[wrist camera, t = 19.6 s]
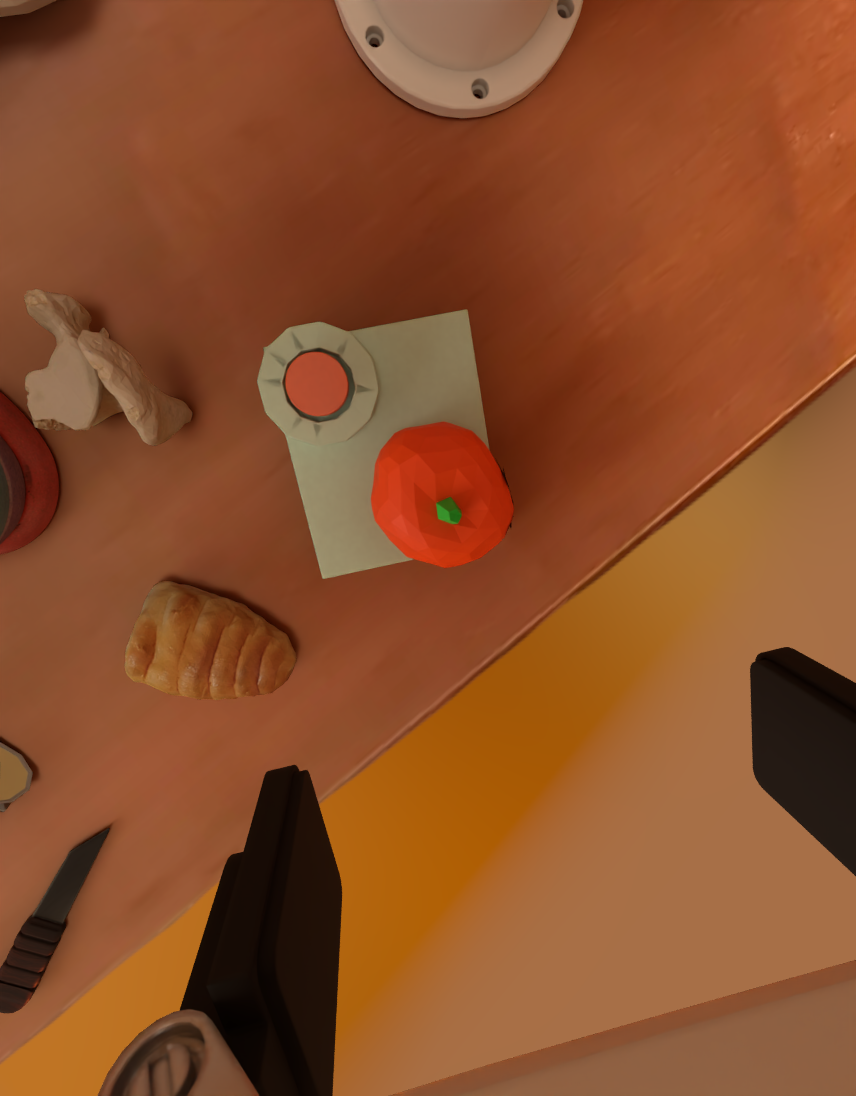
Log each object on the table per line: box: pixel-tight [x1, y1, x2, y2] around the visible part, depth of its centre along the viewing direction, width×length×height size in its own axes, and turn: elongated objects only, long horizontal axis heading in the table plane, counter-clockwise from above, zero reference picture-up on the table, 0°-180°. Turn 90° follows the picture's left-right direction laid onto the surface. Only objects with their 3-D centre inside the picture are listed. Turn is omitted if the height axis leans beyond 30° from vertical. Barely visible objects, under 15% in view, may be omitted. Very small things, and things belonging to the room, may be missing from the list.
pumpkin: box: [371, 421, 514, 568], centre depth 27 cm, size 7×8×6 cm
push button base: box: [257, 309, 490, 579], centre depth 29 cm, size 14×12×4 cm
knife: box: [0, 828, 109, 1013], centre depth 36 cm, size 17×1×3 cm
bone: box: [24, 289, 193, 446], centre depth 25 cm, size 9×6×10 cm
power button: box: [285, 352, 349, 416], centre depth 26 cm, size 3×3×2 cm
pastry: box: [125, 581, 296, 700], centre depth 31 cm, size 9×7×4 cm
